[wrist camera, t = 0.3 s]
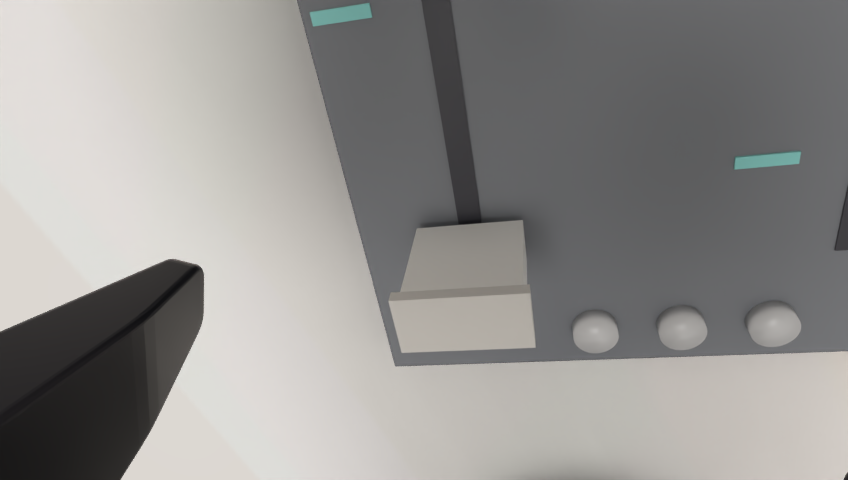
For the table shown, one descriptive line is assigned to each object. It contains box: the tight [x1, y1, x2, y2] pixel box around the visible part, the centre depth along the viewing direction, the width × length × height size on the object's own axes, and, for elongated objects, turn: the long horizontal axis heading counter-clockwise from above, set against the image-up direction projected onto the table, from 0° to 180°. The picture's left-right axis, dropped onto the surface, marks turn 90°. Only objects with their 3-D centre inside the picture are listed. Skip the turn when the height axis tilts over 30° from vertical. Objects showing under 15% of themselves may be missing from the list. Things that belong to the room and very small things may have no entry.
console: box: [297, 0, 848, 366], centre depth 18 cm, size 22×20×2 cm
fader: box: [388, 220, 536, 353], centre depth 20 cm, size 2×4×4 cm, turn 100°
